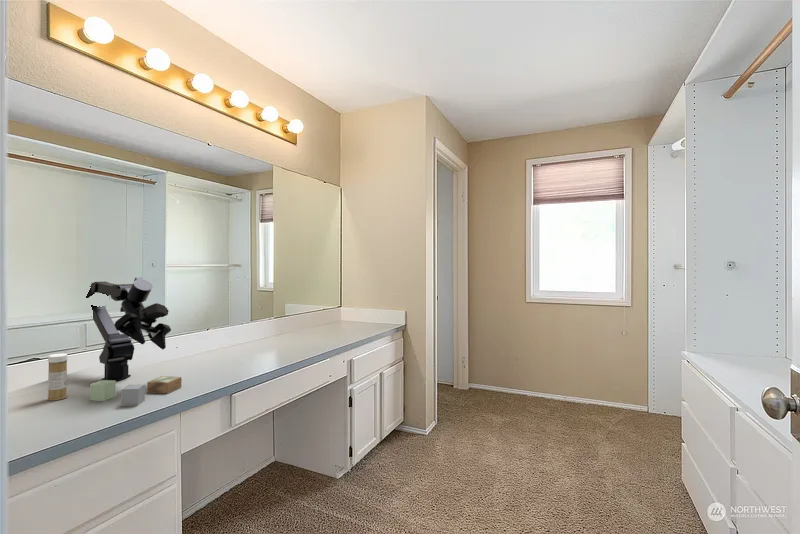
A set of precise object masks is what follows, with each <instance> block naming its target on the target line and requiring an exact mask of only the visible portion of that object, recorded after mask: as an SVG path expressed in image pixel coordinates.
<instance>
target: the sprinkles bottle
mask: <svg viewBox="0 0 800 534" xmlns="http://www.w3.org/2000/svg"><path fill="white" fill-rule="evenodd" d="M47 362H48V363H47V364H48V379H47V391H48V393H47V400H48V401H60V400H63V399H66V398H67V397H68V395H67V386H68V363H67V362H68V354H67V353H54V354H53V353H52V354H49V355H48V356H47Z"/></svg>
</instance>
